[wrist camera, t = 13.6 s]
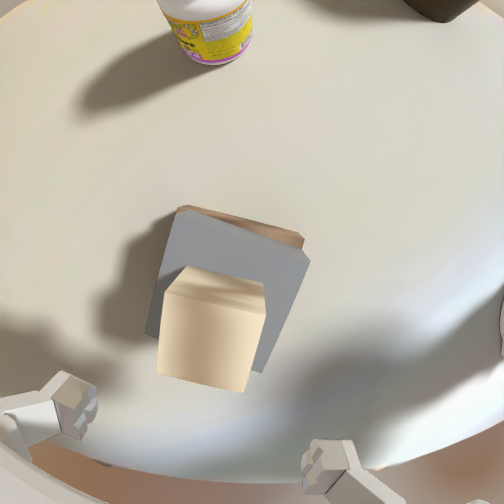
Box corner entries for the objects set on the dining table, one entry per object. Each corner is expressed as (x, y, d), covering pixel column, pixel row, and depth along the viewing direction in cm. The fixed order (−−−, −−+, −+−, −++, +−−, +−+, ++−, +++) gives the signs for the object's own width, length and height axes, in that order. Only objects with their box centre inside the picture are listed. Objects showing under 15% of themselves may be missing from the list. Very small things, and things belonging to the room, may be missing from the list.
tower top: (300, 248, 22) (310, 260, 18) (260, 346, 24) (261, 373, 20) (189, 209, 22) (175, 213, 18) (160, 312, 23) (144, 333, 20)
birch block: (263, 282, 19) (266, 315, 14) (246, 348, 20) (243, 392, 15) (187, 265, 18) (164, 291, 14) (176, 332, 19) (156, 372, 15)
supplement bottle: (175, 29, 21) (131, -49, 9) (237, 7, 21) (228, -80, 8) (195, 78, 23) (151, 3, 10) (262, 54, 22) (268, -34, 10)
